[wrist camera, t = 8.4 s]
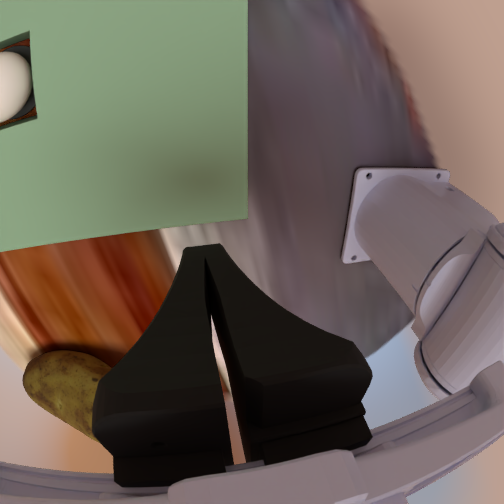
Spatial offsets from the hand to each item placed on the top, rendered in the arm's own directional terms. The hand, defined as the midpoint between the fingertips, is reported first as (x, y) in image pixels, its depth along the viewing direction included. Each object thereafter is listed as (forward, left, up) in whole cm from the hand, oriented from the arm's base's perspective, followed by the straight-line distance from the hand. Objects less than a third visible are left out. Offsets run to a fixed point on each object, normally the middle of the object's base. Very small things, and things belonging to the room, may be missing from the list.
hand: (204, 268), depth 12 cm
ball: (+10, -8, -7) cm, 15 cm away
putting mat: (+7, -6, -9) cm, 13 cm away
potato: (+12, +17, -10) cm, 23 cm away
